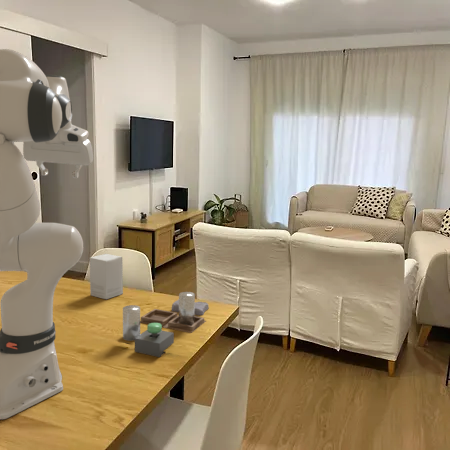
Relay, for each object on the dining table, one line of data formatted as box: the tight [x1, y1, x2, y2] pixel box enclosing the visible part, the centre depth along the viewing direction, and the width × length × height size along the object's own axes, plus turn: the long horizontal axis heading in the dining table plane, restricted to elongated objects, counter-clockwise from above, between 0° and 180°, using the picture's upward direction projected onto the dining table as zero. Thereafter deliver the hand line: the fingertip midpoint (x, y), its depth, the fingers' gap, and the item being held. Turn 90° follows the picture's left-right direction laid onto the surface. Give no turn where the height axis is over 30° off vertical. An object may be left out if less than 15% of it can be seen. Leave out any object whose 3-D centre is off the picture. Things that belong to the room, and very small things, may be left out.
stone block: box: [171, 298, 209, 316], centre depth 159 cm, size 12×5×10 cm
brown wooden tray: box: [140, 308, 207, 334], centre depth 147 cm, size 11×19×2 cm, turn 68°
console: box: [134, 329, 175, 358], centre depth 129 cm, size 8×8×4 cm
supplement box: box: [89, 253, 124, 300], centre depth 173 cm, size 9×9×15 cm
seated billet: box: [178, 291, 196, 326], centre depth 144 cm, size 5×5×10 cm
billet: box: [122, 304, 141, 345], centre depth 133 cm, size 5×5×10 cm
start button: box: [146, 323, 163, 338], centre depth 128 cm, size 4×4×5 cm
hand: (60, 176), depth 139 cm, fingers open, 8 cm apart
